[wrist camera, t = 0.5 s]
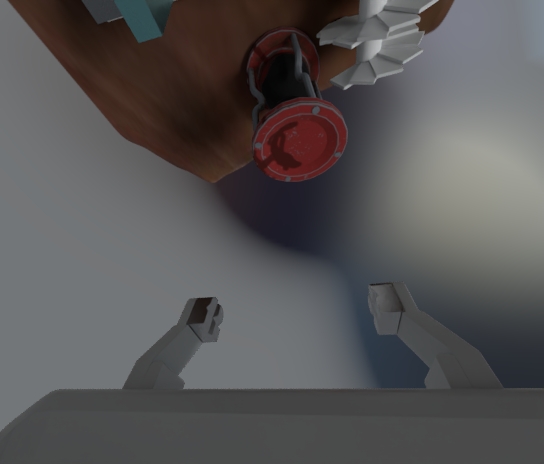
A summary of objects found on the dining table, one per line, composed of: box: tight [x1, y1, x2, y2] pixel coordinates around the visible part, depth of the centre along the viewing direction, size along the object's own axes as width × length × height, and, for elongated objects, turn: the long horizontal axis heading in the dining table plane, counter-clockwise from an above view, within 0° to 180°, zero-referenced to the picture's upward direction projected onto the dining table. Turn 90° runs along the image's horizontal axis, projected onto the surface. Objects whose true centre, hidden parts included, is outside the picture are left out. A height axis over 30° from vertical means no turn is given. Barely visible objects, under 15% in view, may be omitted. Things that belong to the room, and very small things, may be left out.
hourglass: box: [246, 27, 348, 182], centre depth 44 cm, size 16×16×25 cm
